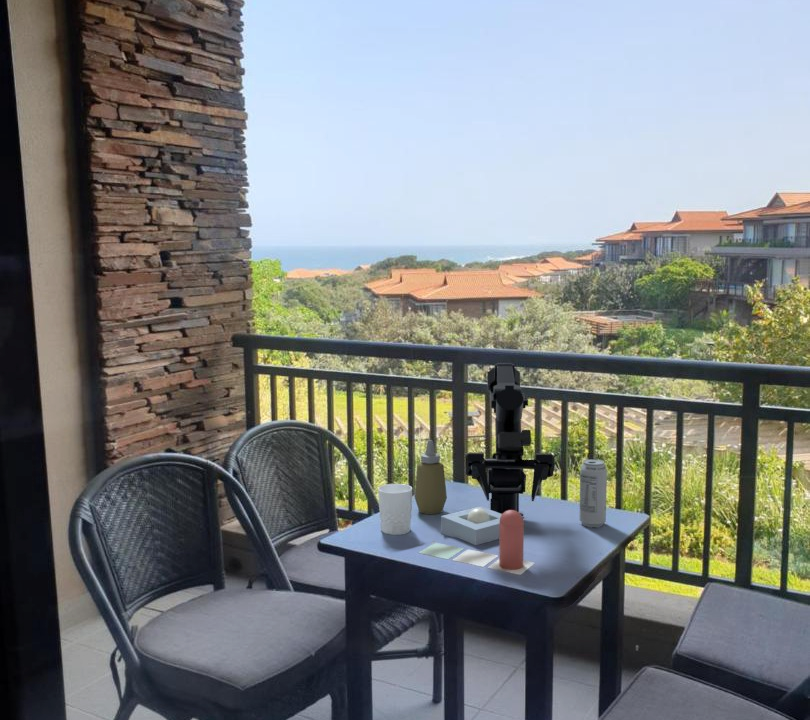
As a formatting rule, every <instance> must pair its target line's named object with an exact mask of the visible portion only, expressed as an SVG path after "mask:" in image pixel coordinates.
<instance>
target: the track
mask: <svg viewBox="0 0 810 720" xmlns="http://www.w3.org/2000/svg"><path fill="white" fill-rule="evenodd" d="M463 550H464V551H463ZM462 551H463V552H462ZM460 552H461V554H459V555H457V554H458V553H460ZM418 554H422V555H426V556H430V557H434V558H440V559H443V560H449V559H452V557H454V556H456V555H457V556H456V557H454V558H453V559H452V561H454V562H459V563H464V564H467V565H471V566H472V565H473V566H475V567H476V566H477V567H480V568H481V567H482V568H484V567H486V566H487V565H488V564H489V563H491V562H492V561H493V560H495V559H496V558H498V559H497V560H495V561H494V562H493V563H491V564H490V565H489V566H488V567H486V568H487V569H492V570H496V571H501V572H504V573H511V574H514V575H518V576H521V575H522V574H524V573H525V572H526V571H527V570H529V569H530V568H531V567H532V566H533V565H535V562H532V561H527V560H523V567H522V568H521V569H517V570H508V569H504V568H502V567H500V566H499V554H492V553H490V552H488V553H487V552H483V551H478V550H474V549H469V548H468V549H465V548H463V547H458V546H453V545H450V544H443V543H439V542H435V541H432V542H431V544H430V545H429V546H427V547H426V548H423V549H422V550H421V551H418Z"/></svg>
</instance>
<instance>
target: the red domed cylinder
mask: <svg viewBox="0 0 810 720" xmlns="http://www.w3.org/2000/svg"><path fill="white" fill-rule="evenodd" d="M520 513H521V512H517V511H515V510H508V511H505V512H504V513H503V514H502V515H501V517H500V533H499V539H498V540H499V547H498V549H499V550H498V551H499V552H498V553H499V554H498V555H499V556H498V559H499V566H500V567H502V568H504V569H508V570H517V569H521V568H522V567H523V561H524V539H525V536H524V534H525V533H524V532H525V531H524V530H525V529H524V527H525V526H524V524H525V523H524V522H525V521H524V518H523V517H524V516H522V515H521V514H520Z"/></svg>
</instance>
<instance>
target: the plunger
mask: <svg viewBox="0 0 810 720" xmlns="http://www.w3.org/2000/svg"><path fill="white" fill-rule="evenodd" d="M467 521H470V522H473V523H475V524H480V523H484V522H487V521H489V515H488V513H487V512H486V511H485V510H483V509H480V508H476V509H473V510H472V511H470V513H469V514H468V517H467Z"/></svg>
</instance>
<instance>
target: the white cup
mask: <svg viewBox="0 0 810 720" xmlns="http://www.w3.org/2000/svg"><path fill="white" fill-rule="evenodd" d="M377 491H378V507H379V508H378V509H379V518H380V530H381V532H382V533H384V534H386V535H390V536H391V535H392V536H393V535H395V536H398V535H400V536H401V535H405V534H408V533H409V532H410V531H411V523H412V522H411V521H412V520H411V519H412V510H413V509H412V508H413V487H412V486H411V485H408V484H406V483H405V484H404V483H387V484H383V485H381V486H379V487H378V488H377Z"/></svg>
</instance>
